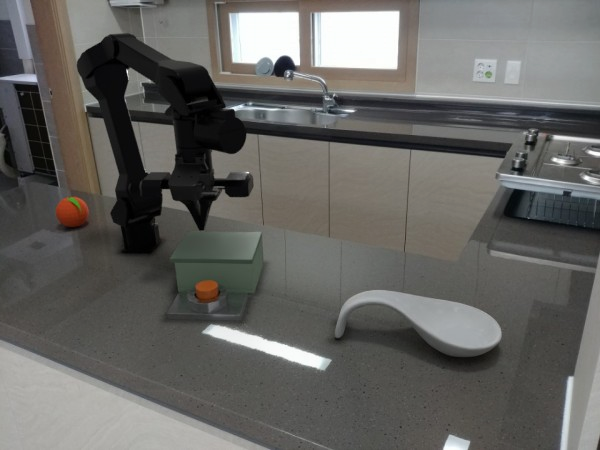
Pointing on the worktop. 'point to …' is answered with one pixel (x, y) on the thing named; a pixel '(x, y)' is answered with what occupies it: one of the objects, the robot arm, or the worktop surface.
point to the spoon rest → (433, 321)
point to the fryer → (222, 274)
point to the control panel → (208, 306)
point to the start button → (207, 290)
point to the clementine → (72, 211)
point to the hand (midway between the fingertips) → (202, 229)
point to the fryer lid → (217, 247)
